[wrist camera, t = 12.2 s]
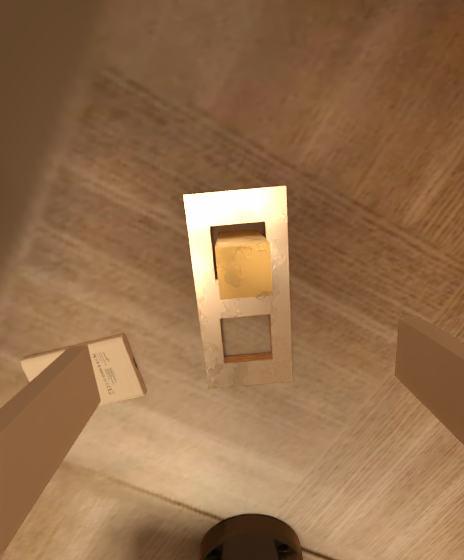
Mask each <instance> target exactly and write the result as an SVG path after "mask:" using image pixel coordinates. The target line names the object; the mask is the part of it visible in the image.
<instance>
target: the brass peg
mask: <svg viewBox="0 0 464 560" xmlns="http://www.w3.org/2000/svg"><path fill="white" fill-rule="evenodd" d="M215 255H216V265H217V275H218V285H219V296H220V300H223V299H235V298H248V297H260V296H272V273H271V251H270V242H269V241H268V240H267V239H266V238H265V237H264V236H263V235H261V234H260V233H259V232H258V231H257V230H246V231H234V232H222V233H219V234H218V238H217V241H216V245H215Z"/></svg>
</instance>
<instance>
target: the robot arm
mask: <svg viewBox="0 0 464 560" xmlns="http://www.w3.org/2000/svg"><path fill="white" fill-rule="evenodd" d="M395 376H396V377H397V378H398V379H399V380H400V381H401V382H402V383H403V384H404V385H405V386H406V387H407V388H408V389H409V390H410V391H411V392H412V393H413V394H414V395H415V396H416V397H417V398H418V399H419V400H420V401H421V402H422V403H423V404H424V405H425V406H426V407H427V408H428V409H429V410H430V411H431V412H432V413H433V414H434V415H435V416H436V417H437V418H438V419H439V420H440V421H441V422H442V423H443V424H444V425H445V426H446V427H447V428H448V429H449V430H450V431H451V432H452V433H453V434H454V435H455V436H456V437H457V438H458V439H459V440H460V441H461V442H462V443H463V444H464V343H463V342H461V341H459V340H457V339H456V338H454V337H452V336H451V335H449V334H447V333H445V332H444V331H442V330H440V329H438V328H437V327H435V326H433V325H431V324H430V323H428V322H426V321H425V320H423V319H421V318H419V317H418V316H413V317H402V318H399V322H398V337H397V352H396V366H395ZM100 402H101V399H100V395H99V391H98V386H97V382H96V378H95V374H94V370H93V365H92V361H91V357H90V353H89V349H88V345H83V346H71V347H69V348H68V349H66V350H65V351H64V352H63V353H62V354H61V355H60V356H59V357H57V358H56V359H55V360H54V361H53V362H52V363H51V364H50V365H49V366H47V367H46V368H45V369H44V370H43V371H42V372H41V373H40V374H39V375H37V376H36V377H35V378H34V379H33V380H32V381H31V382H30V383H28V384H27V385H26V386H25V387H24V388H23V389H22V390H21V391H20V392H18V393H17V394H16V395H15V396H14V397H13V398H12V399H11V400H10V401H8V402H7V403H6V404H5V405H4V406H3V407H2V408H1V409H0V557H1V556H2V554H3V553H4V551H5V549H6V548H7V546H8V545H9V543H10V542H11V540H12V539H13V537H14V535H15V534H16V532H17V531H18V529H19V528H20V526H21V525H22V523H23V522H24V520H25V518H26V517H27V515H28V514H29V512H30V511H31V509H32V508H33V506H34V504H35V503H36V501H37V500H38V498H39V497H40V495H41V494H42V492H43V490H44V489H45V487H46V486H47V484H48V483H49V481H50V480H51V478H52V476H53V475H54V473H55V472H56V470H57V469H58V467H59V466H60V464H61V462H62V461H63V459H64V458H65V456H66V455H67V453H68V452H69V450H70V448H71V447H72V445H73V444H74V442H75V441H76V439H77V438H78V436H79V434H80V433H81V431H82V430H83V428H84V427H85V425H86V424H87V422H88V420H89V419H90V417H91V416H92V414H93V413H94V411H95V410H96V408H97V406H98V405H99V403H100ZM200 560H303V556H302V552H301V547H300V542H299V539H298V537H297V535H296V534H295V532H294V531H293V530H292V529H291V528H290V527H289V526H287V525H286V524H284V523H283V522H281V521H279V520H276V519H274V518H271V517H266V516H260V515H245V516H238V517H234V518H231V519H228V520H226V521H223V522H221V523H220V524H218V525H216V526H215V527H214V528H212V529H211V530H210V531H209V532H208V533H207V535H206V536H205V538H204V539H203V542H202V544H201V549H200Z"/></svg>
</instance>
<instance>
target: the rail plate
mask: <svg viewBox="0 0 464 560" xmlns="http://www.w3.org/2000/svg"><path fill="white" fill-rule="evenodd" d="M183 196H184V204H185V212H186V219H187V227H188V235H189V243H190V251H191V258H192V266H193V274H194V282H195V290H196V297H197V305H198V313H199V321H200V329H201V336H202V344H203V352H204V360H205V368H206V376H207V383H208V389H214V388H225V387H237V386H249V385H261V384H272V383H284V382H293V373H292V343H291V314H290V285H289V256H288V227H287V198H286V186H277V187H266V188H255V189H244V190H233V191H222V192H211V193H200V194H189V195H183ZM263 221H264V237H265V238H266V239H267V240H268V241H269V242H270V251H271V273H272V296H260V297H248V298H235V299H223V300H220V296H219V285H218V276H216V273H215V264H214V254H213V245H212V236H211V226H218V225H229V224H240V223H251V222H263ZM265 314H269V328H270V345H271V353H260V354H249V355H237V356H225V357H224V348H223V339H222V330H221V320H220V318H231V317H242V316H254V315H265Z"/></svg>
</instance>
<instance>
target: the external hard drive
mask: <svg viewBox="0 0 464 560" xmlns="http://www.w3.org/2000/svg"><path fill="white" fill-rule="evenodd" d="M83 345H88V349H89V353H90V357H91V361H92V365H93V370H94V374H95V378H96V382H97V386H98V391H99V395H100V399H101V402H100V403H99V405H98V406H101V405H105V404H109V403H114V402H118V401H122V400H127V399H131V398H135V397H140V396H144V395H145V394H146V388H145V386H144V383H143V381H142V378H141V375H140V373H139V370H138V368H136V366H135V363H134V360H133V359H134V357H133V355H132V352H131V350H130V347H129V344H128V342H127V339H126V337H125V334H120V335H116V336H111V337H107V338H103V339H99V340H95V341H90V342H86V343H82V344H78V345H74V346H83ZM70 347H71V346H70ZM68 348H69V347H65V348H61V349H57V350H53V351H49V352H45V353H40V354H36V355H32V356H28V357H25V358H24V359H22V360H21V366H22V368H23V370H24V372H25V374H26V376H27V378H28V380H29V382H31V381H32V380H33V379H34V378H35V377H36V376H37V375H39V374H40V373H41V372H42V371H43V370H44V369H45V368H46V367H47V366H49V365H50V364H51V363H52V362H53V361H54V360H55V359H56V358H57V357H59V356H60V355H61V354H62V353H63V352H64V351H65V350H66V349H68Z"/></svg>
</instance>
